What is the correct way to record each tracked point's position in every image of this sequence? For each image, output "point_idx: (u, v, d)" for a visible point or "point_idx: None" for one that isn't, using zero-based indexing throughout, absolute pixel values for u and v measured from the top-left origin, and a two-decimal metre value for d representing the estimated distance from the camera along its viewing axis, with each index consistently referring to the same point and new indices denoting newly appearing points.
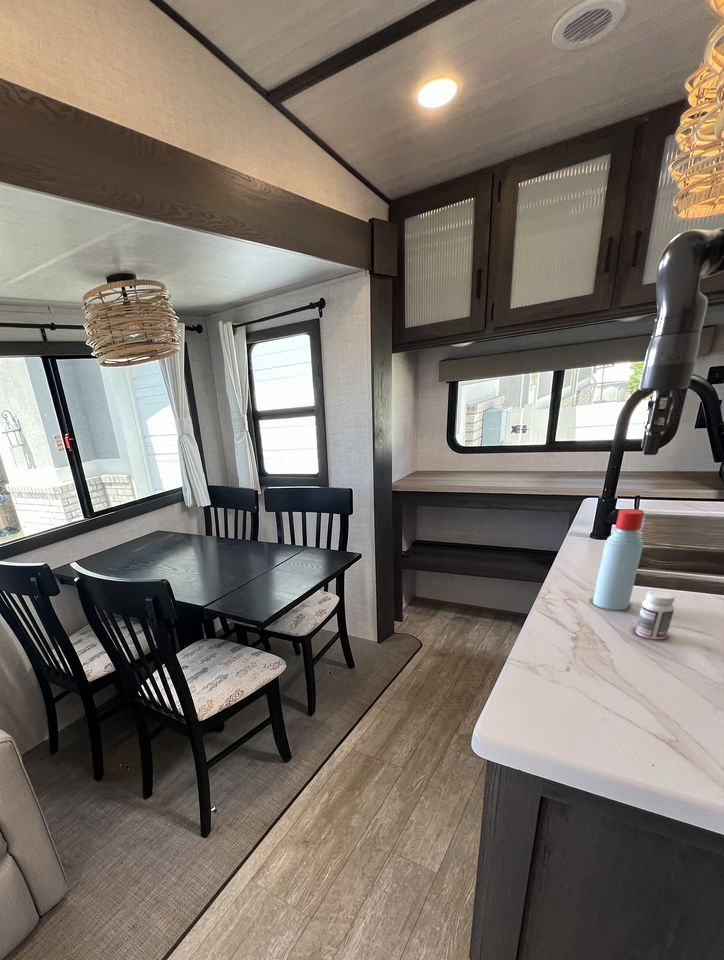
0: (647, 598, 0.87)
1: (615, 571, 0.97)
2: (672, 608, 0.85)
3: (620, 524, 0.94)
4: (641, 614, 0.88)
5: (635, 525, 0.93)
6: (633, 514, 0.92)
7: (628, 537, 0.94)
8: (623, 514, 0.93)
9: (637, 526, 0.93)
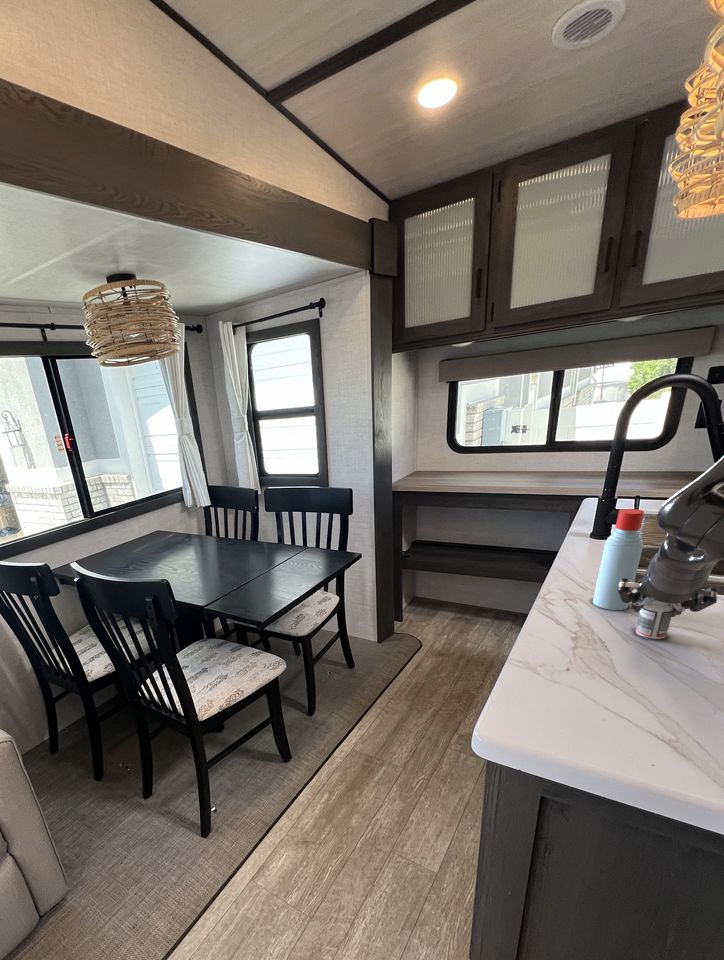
0: None
1: (615, 571, 0.97)
2: (671, 607, 0.85)
3: (620, 524, 0.94)
4: (641, 614, 0.88)
5: (635, 525, 0.93)
6: (633, 514, 0.92)
7: (628, 537, 0.94)
8: (623, 514, 0.93)
9: (637, 526, 0.93)
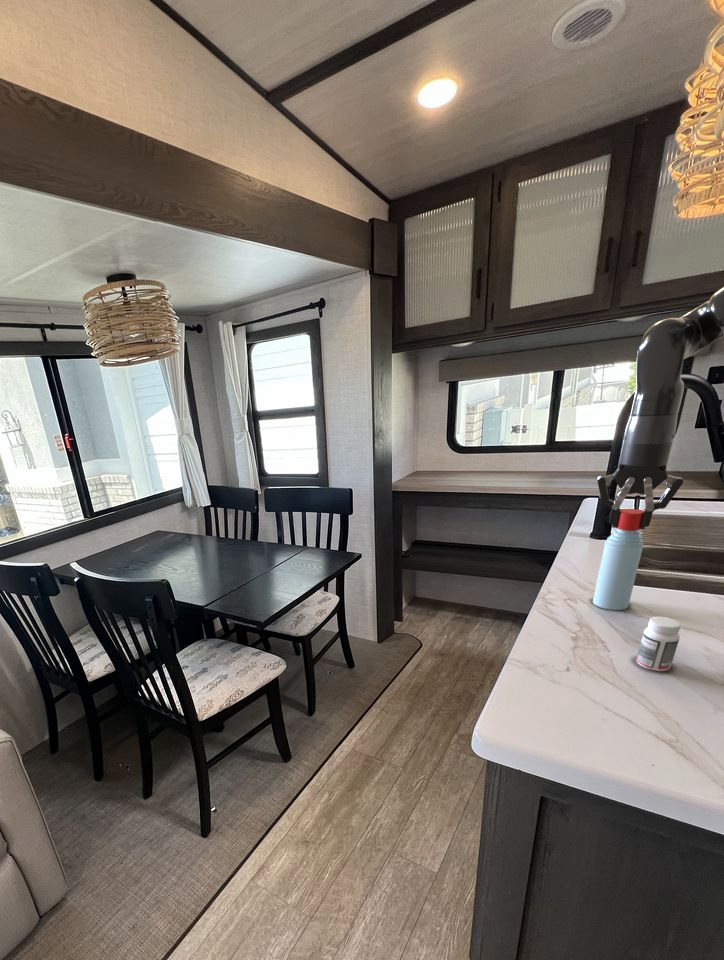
0: (649, 625, 0.78)
1: (615, 571, 0.97)
2: (677, 638, 0.76)
3: (620, 524, 0.94)
4: (642, 642, 0.79)
5: (635, 525, 0.93)
6: (633, 514, 0.92)
7: (628, 537, 0.94)
8: (623, 514, 0.93)
9: (637, 526, 0.93)
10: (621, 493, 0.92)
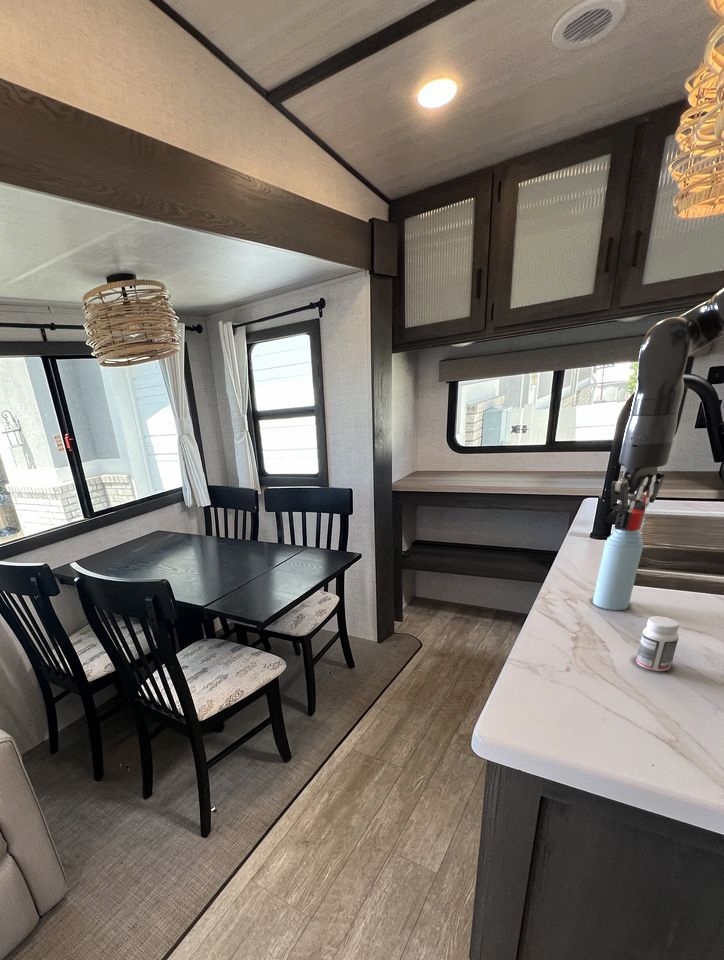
0: (648, 625, 0.78)
1: (615, 571, 0.97)
2: (676, 637, 0.76)
3: (632, 525, 0.93)
4: (641, 642, 0.80)
5: None
6: (642, 513, 0.92)
7: (628, 537, 0.94)
8: (635, 515, 0.92)
9: None
10: (638, 494, 0.90)
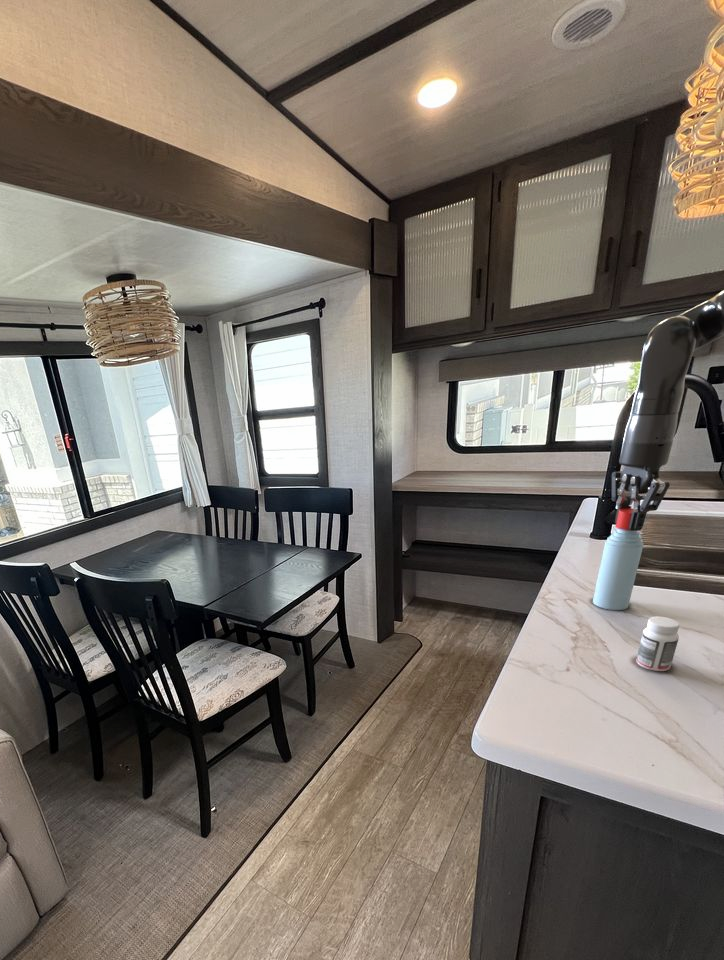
0: (648, 625, 0.78)
1: (615, 571, 0.97)
2: (676, 638, 0.76)
3: None
4: (641, 642, 0.80)
5: None
6: None
7: (628, 537, 0.94)
8: None
9: None
10: None
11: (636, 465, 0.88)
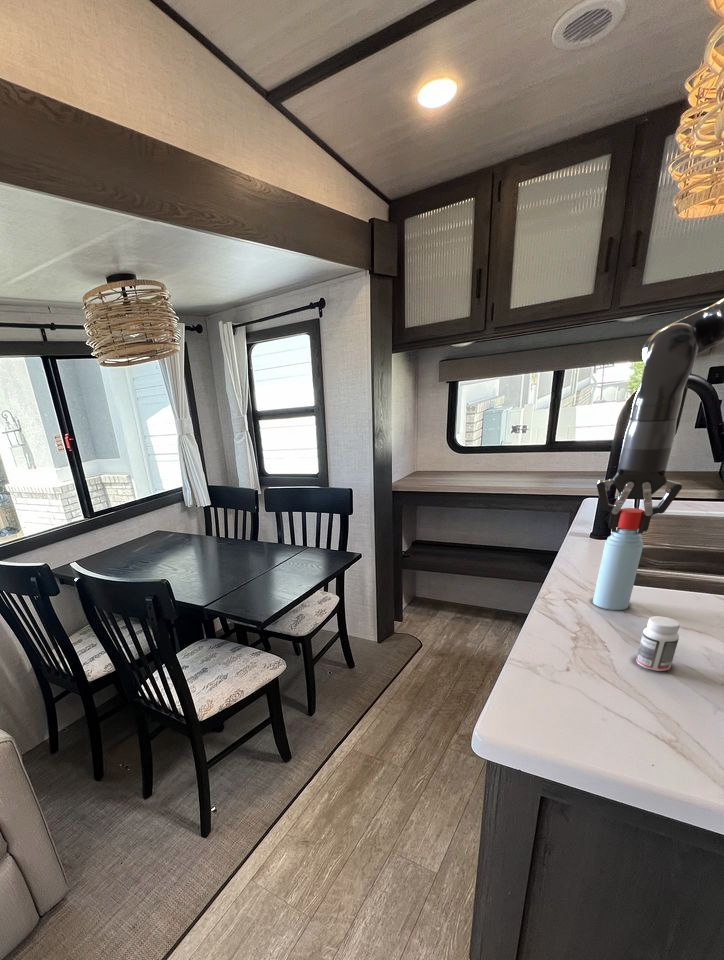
0: (648, 625, 0.78)
1: (615, 571, 0.97)
2: (676, 637, 0.76)
3: None
4: (642, 642, 0.80)
5: None
6: None
7: (628, 537, 0.94)
8: None
9: None
10: None
11: (658, 470, 0.87)
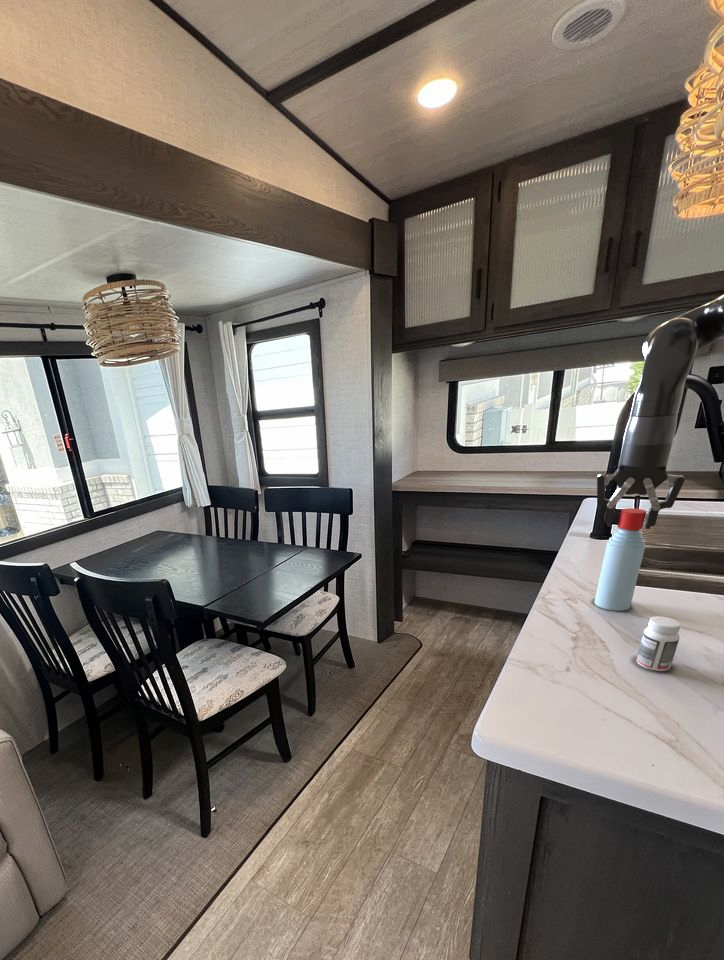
0: (649, 625, 0.78)
1: (617, 572, 0.96)
2: (677, 638, 0.76)
3: None
4: (642, 642, 0.80)
5: None
6: None
7: (630, 538, 0.94)
8: None
9: None
10: None
11: (659, 466, 0.87)
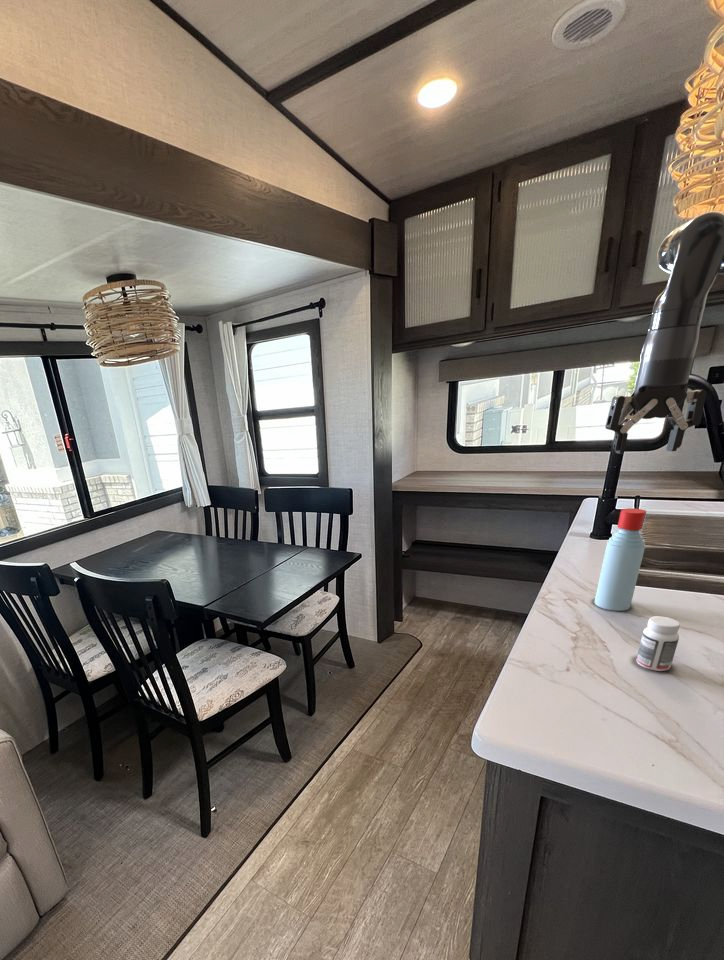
0: (648, 624, 0.78)
1: (617, 572, 0.96)
2: (676, 638, 0.76)
3: None
4: (641, 642, 0.80)
5: None
6: None
7: (630, 538, 0.94)
8: None
9: None
10: None
11: (685, 382, 0.81)
